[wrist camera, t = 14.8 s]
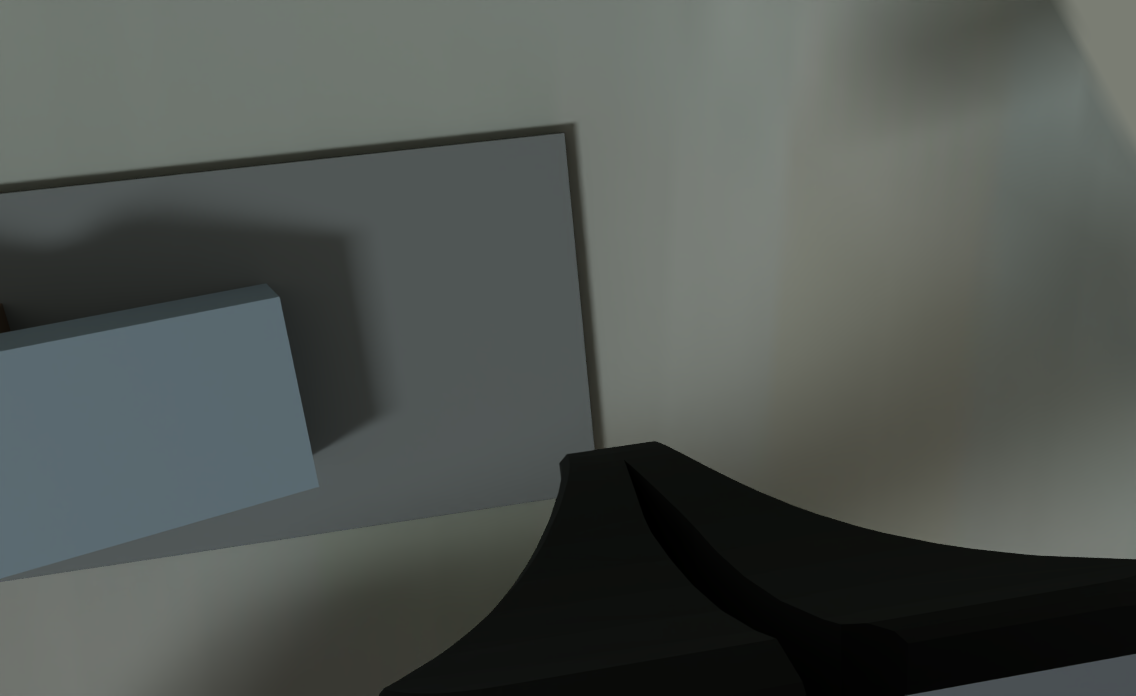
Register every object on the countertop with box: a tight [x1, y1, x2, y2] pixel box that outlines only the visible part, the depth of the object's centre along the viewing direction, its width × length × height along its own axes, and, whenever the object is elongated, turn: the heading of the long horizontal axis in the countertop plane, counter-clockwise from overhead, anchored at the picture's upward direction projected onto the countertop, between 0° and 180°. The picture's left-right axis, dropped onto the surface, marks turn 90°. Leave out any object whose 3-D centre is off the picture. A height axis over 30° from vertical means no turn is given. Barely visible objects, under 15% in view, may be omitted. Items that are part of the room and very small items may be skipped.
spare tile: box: [0, 283, 319, 579], centre depth 18 cm, size 2×4×7 cm
